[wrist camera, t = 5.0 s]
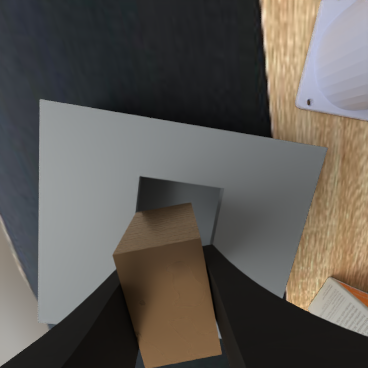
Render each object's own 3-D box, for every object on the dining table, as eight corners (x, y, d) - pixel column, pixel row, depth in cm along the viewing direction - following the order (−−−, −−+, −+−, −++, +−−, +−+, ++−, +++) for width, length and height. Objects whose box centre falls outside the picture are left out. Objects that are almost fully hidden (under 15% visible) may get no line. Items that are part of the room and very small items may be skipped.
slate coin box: (282, 145, 16) (328, 147, 11) (245, 291, 19) (269, 342, 14) (83, 112, 15) (39, 99, 10) (75, 273, 18) (37, 322, 13)
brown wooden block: (191, 202, 10) (200, 237, 7) (205, 282, 12) (221, 354, 8) (135, 212, 10) (111, 254, 7) (155, 291, 12) (145, 368, 8)
